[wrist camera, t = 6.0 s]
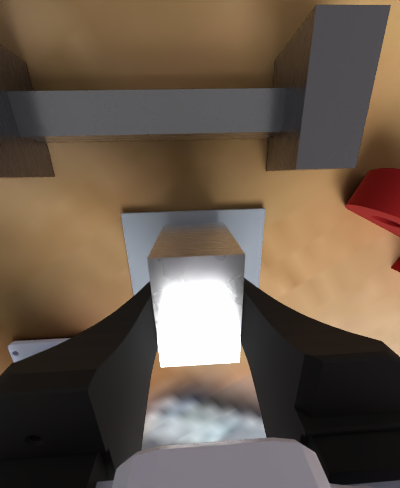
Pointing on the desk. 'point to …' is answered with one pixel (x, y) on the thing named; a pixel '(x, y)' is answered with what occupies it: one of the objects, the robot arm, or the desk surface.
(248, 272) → the mat
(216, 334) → the white block
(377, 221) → the mechanical linkage
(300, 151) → the vise
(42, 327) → the desk surface
